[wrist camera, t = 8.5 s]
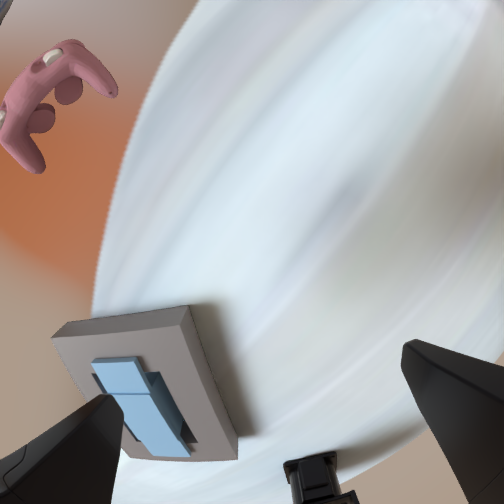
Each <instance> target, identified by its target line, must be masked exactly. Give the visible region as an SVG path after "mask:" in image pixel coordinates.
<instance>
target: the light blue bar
mask: <svg viewBox="0 0 504 504" xmlns="http://www.w3.org/2000/svg"><path fill="white" fill-rule="evenodd" d="M91 365H92V367H93V368H94V370H95V372H96V374H97V376H98V377H99V379H100V381H101V383H102V384H103V386H104V388H105V389H106V391H107V393H108V394H111V395H112V396H113V397H114V398H115V400H116V401H117V403H118V404H119V406H120V407H121V409H122V410H123V412H124V421H125V422H126V424H127V425H128V427H129V428H130V429H131V431H132V432H133V433H134V435H135V436H136V437H137V439H138V440H141V442H142V443H143V444H144V445H145V447H146V448H147V449H148V450H149V452H150V453H151V454H152V455H153V456H166V457H191V451H190V449H189V448H188V447H187V445H186V444H185V442H184V441H183V439H182V438H181V436H180V432H181V428H182V423H183V419H184V417H183V416H182V414H181V412H180V410H179V408H178V407H177V405H176V403H175V401H174V399H173V397H172V395H171V393H170V391H169V389H168V387H167V385H166V383H165V381H164V379H163V377H162V375H161V373H160V371H157V372H144V371H143V369H142V367H141V365H140V363H139V361H138V359H137V357H127V358H108V359H94V360H93V361H92V362H91Z"/></svg>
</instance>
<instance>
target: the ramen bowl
mask: <svg viewBox="0 0 504 504" xmlns="http://www.w3.org/2000/svg"><path fill="white" fill-rule="evenodd" d="M12 2H13V0H0V25H1V23H2V20H3V18H4V17H5V15H6V13H7V12H8V10H9V8H10V6H11V4H12Z"/></svg>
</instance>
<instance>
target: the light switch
mask: <svg viewBox="0 0 504 504" xmlns="http://www.w3.org/2000/svg"><path fill="white" fill-rule="evenodd" d="M51 340H52V342H53V344H54V346H55V348H56V350H57V352H58V354H59V356H60V358H61V360H62V362H63V363H64V365H65V367H66V369H67V371H68V372H69V374H70V376H71V378H72V379H73V381H74V383H75V384H76V386H77V388H78V389H79V391H80V392H81V394H82V395H83V397H84V398H85V400H86V401H87V403H88V402H89V401H90V400H92V399H93V398H95V397H96V396H97V395H99V394H108V393H107V391H106V389H105V388H104V386H103V384H102V383H101V381H100V379H99V377H98V376H97V374H96V372H95V370H94V368H93V367H92V365H91V362H92V361H93V360H94V359H108V358H127V357H137V359H138V361H139V363H140V365H141V367H142V369H143V371H144V372H157V371H160V373H161V375H162V377H163V379H164V381H165V383H166V385H167V387H168V389H169V391H170V393H171V395H172V397H173V399H174V401H175V403H176V405H177V407H178V408H179V410H180V412H181V414H182V416H183V417H184V419H185V421H183V423H182V428H181V432H180V436H181V438H182V439H183V441H184V442H185V444H186V445H187V447H188V448H189V449H190V451H191V457H166V456H153V455H152V454H151V453H150V452H149V450H148V449H147V448H146V447H145V445H144V444H143V443H142V442H141V440H138V439H137V437H136V436H135V435H134V433H133V432H132V431H131V429H130V428H129V427H128V425H127V424H126V422H125V421H124V424H123V432H122V441H121V448H122V449H123V450H124V451H125V452H126V454H127V455H128V456H129V457H130V458H137V459H147V460H160V461H184V462H202V461H227V460H238V437H237V434H236V432H235V430H234V427H233V425H232V423H231V420H230V418H229V416H228V413H227V411H226V408H225V406H224V404H223V401H222V399H221V396H220V394H219V391H218V389H217V386H216V383H215V381H214V378H213V375H212V373H211V370H210V367H209V365H208V362H207V359H206V356H205V354H204V351H203V348H202V345H201V342H200V339H199V336H198V333H197V330H196V327H195V324H194V321H193V318H192V315H191V312H190V309H189V306H188V305H185V306H179V307H173V308H167V309H161V310H154V311H148V312H141V313H134V314H127V315H120V316H112V317H105V318H97V319H89V320H81V321H72V322H67V323H66V324H65V325H64V326H63V327H62V328H60V329H59V330H58V331H57V332H56V333H55V334H54V335H53V336H52V337H51Z"/></svg>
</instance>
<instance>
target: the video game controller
mask: <svg viewBox="0 0 504 504" xmlns="http://www.w3.org/2000/svg"><path fill="white" fill-rule="evenodd" d="M82 79H83V80H85V81H86V82H87V83H89V84H90V85H91V86H92V87H93V88H94V89H95V90H96V91H98V92H99V93H100V94H102V95H104V96H106V97H109V98H114V97H116V96H117V95H118V86H117V84H116V82H115V80H114V79H113V77H112V76H111V74H110V73H109V72H108V70H107V69H106V68H105V67H104V65H102V63H101V62H100V60H98V59H97V58H96V57H95V56H94V55H93V54H92V53H91V52H89V51H88V50H87V49H86V48H85V46H84V45H83V44H82V43H81V42H80V41H78V40H75V39H70V40H65V41H62V42H60V43H58V44H56V45H55V46H54V47H53V48H51V49H50V50H48V51H46V52H44V53H43V54H41V55H40V56H39V57H37V58H36V59H35V60H33V61H32V62H31V63H30V64H29V65H28V66H27V67H26V68H25V69H24V70H23V71H22V72H21V73H20V74H19V75H18V77H17V78H16V79H15V81H14V82H13V84H12V85H11V87H10V88H9V90H8V91H7V93H6V95H5V97H4V99H3V102H2V104H1V107H0V143H1V145H2V146H3V147H4V148H5V149H6V150H7V151H8V152H9V153H10V154H11V155H12V156H13V157H14V158H15V159H16V160H17V161H18V162H19V163H20V164H21V165H22V166H23V167H24V168H25V169H26V170H27V171H29V172H31V173H34V174H41V173H43V172H44V170H45V168H46V165H45V161H44V158H43V156H42V154H41V152H40V150H39V149H38V147H37V146H36V144H35V143H34V141H33V140H32V138H31V137H30V133H44V132H47V131H48V130H50V129H51V128H52V126H53V125H54V122H55V109H54V107H53V106H52V105H50V104H46V103H42V104H39V103H40V102H41V101H42V100H43V98H45V96H46V95H47V94H48V93H49V92H50V91H51V90H52V89H53V88H54V87H55V98H56V100H57V101H58V102H59V103H60V104H63V105H68V104H71V103H73V102H75V101H76V100H77V99H79V97H80V96H81V95H82V91H83V84H82Z"/></svg>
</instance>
